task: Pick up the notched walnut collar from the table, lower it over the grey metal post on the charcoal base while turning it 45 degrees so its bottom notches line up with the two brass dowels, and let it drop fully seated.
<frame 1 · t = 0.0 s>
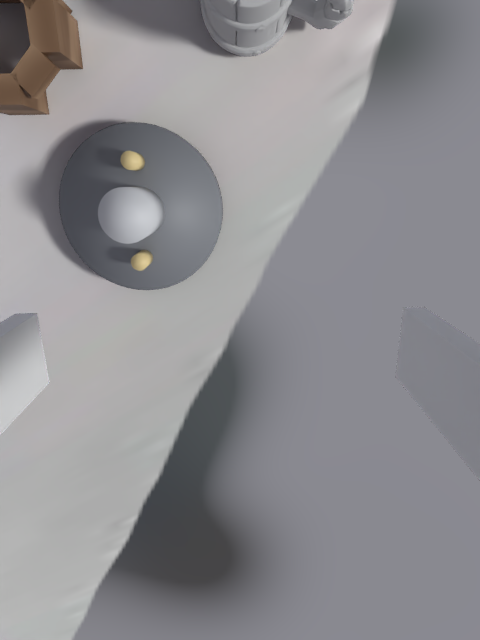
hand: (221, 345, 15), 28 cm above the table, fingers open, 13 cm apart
collar: (18, 46, 36), on the table
flange base: (146, 209, 40), on the table
mug: (269, 16, 36), on the table
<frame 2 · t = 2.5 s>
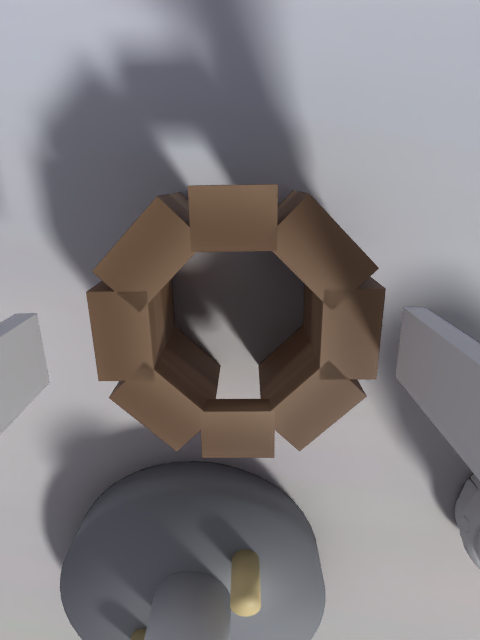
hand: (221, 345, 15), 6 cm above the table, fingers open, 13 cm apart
collar: (238, 300, 20), on the table
flange base: (197, 561, 26), on the table
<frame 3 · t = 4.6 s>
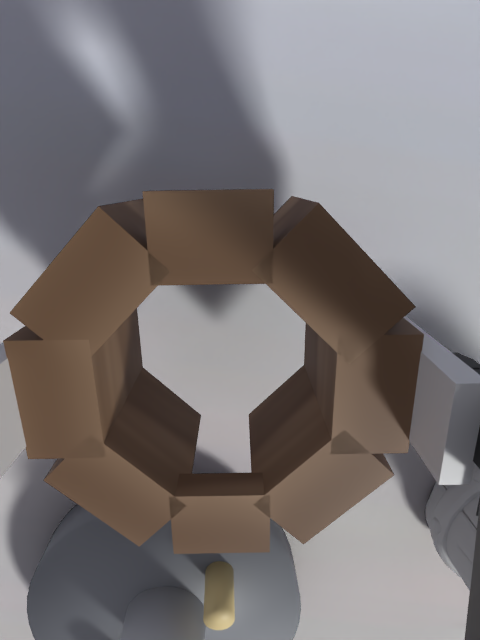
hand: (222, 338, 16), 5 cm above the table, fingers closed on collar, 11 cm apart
collar: (222, 334, 16), point 4 cm above the table, touching gripper
flange base: (171, 575, 25), on the table
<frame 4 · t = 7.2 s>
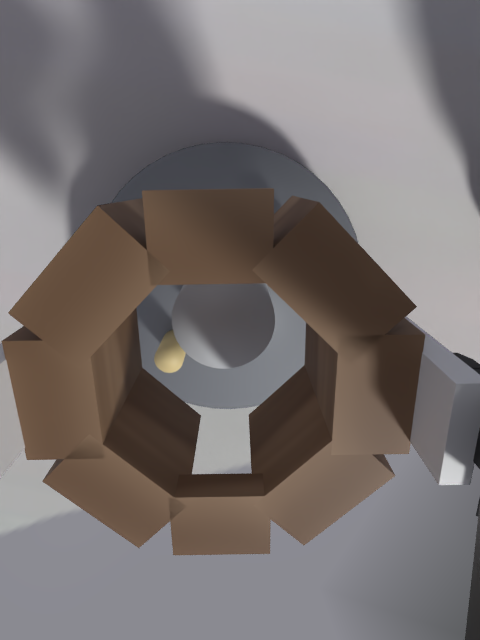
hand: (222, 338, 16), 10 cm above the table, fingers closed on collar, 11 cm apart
collar: (222, 334, 16), point 10 cm above the table, touching gripper
flange base: (227, 279, 25), on the table
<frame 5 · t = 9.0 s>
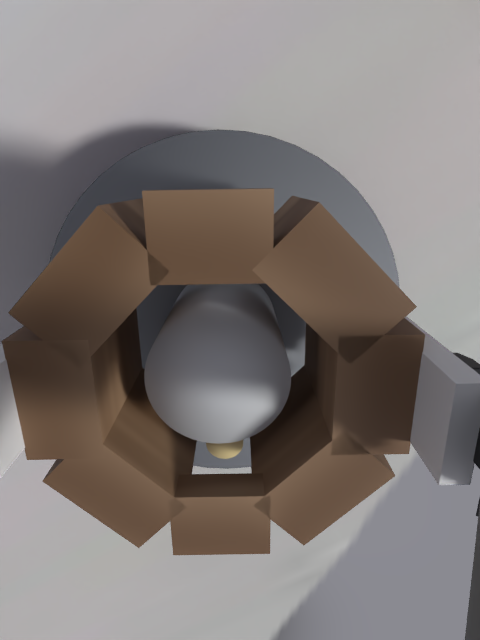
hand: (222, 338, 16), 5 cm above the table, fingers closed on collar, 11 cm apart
collar: (222, 334, 16), point 4 cm above the table, touching gripper
flange base: (225, 305, 20), on the table
when the fingers open (5 cm above the table, at t = 10.1 s): collar drops 2 cm, resting on flange base.
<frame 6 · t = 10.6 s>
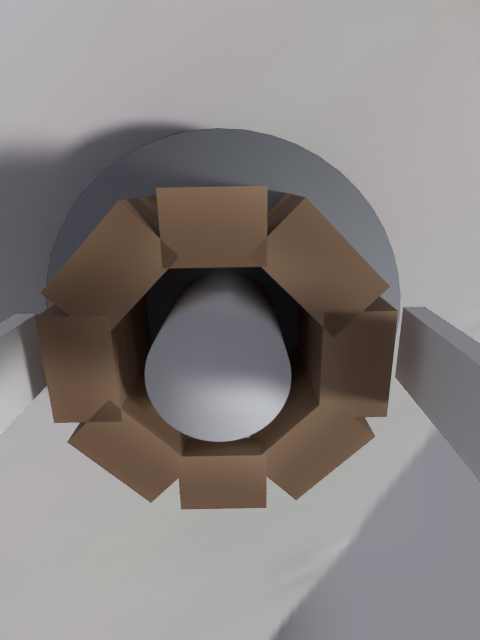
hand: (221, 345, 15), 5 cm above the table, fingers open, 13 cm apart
collar: (223, 318, 17), point 2 cm above the table, touching flange base
flange base: (225, 304, 20), on the table
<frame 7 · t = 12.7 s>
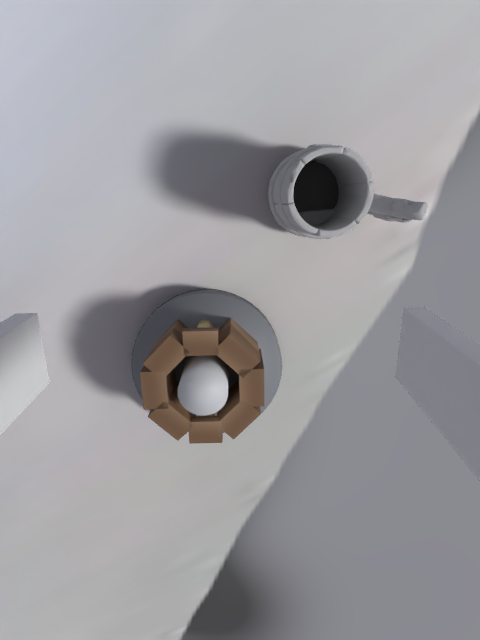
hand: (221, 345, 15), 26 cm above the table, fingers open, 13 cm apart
collar: (206, 367, 41), point 2 cm above the table, touching flange base
flange base: (208, 358, 43), on the table
mug: (327, 198, 39), on the table
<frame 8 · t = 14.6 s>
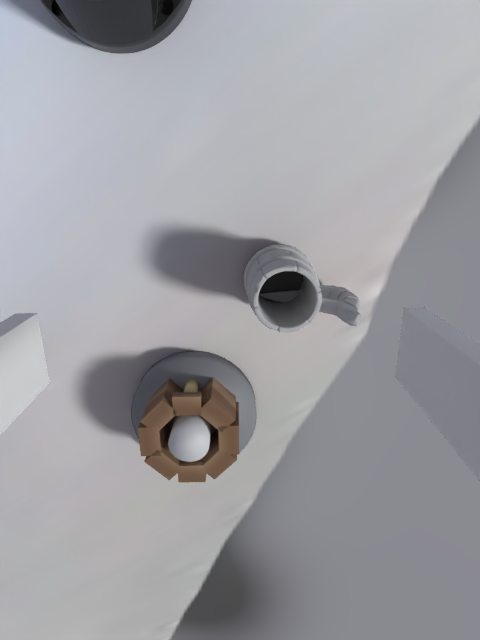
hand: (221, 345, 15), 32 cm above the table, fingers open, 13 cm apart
collar: (193, 416, 49), point 2 cm above the table, touching flange base
flange base: (196, 406, 52), on the table
mug: (294, 279, 47), on the table
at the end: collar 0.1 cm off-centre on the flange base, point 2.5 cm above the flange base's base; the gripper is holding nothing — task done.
